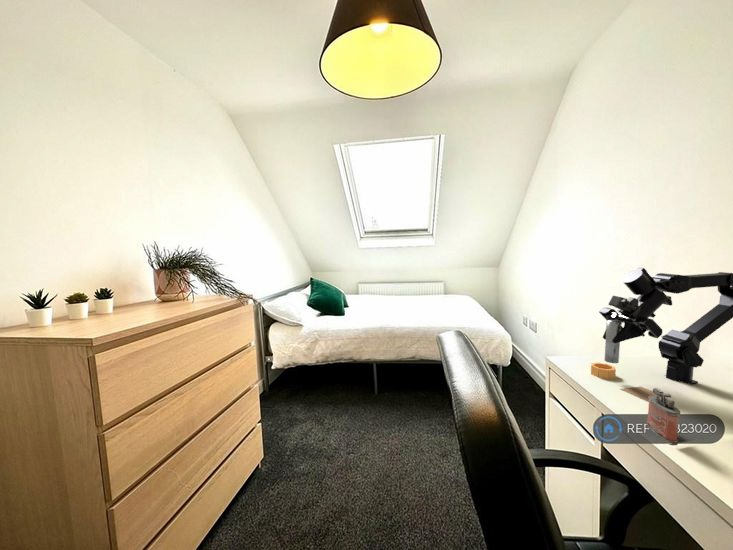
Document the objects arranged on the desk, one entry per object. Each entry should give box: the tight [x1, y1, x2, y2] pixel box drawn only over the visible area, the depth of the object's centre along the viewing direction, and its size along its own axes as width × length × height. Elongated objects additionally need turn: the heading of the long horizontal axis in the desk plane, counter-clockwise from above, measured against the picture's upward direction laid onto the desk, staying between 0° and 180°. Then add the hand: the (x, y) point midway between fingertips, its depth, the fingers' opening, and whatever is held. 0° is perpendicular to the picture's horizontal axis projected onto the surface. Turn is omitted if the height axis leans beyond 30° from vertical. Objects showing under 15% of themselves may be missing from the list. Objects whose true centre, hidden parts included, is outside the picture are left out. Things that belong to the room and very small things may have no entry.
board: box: [619, 386, 656, 403], centre depth 95 cm, size 8×8×1 cm
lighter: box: [646, 387, 681, 446], centre depth 76 cm, size 8×3×10 cm, turn 168°
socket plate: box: [590, 362, 617, 380], centre depth 109 cm, size 9×9×4 cm
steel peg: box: [604, 320, 622, 364], centre depth 104 cm, size 4×4×13 cm
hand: (608, 340), depth 104 cm, fingers closed on steel peg, 4 cm apart
